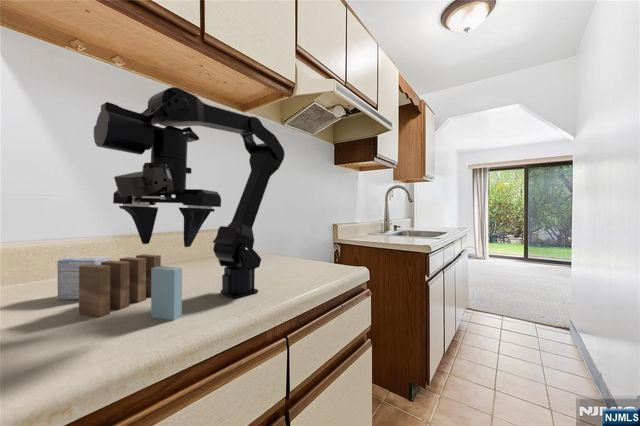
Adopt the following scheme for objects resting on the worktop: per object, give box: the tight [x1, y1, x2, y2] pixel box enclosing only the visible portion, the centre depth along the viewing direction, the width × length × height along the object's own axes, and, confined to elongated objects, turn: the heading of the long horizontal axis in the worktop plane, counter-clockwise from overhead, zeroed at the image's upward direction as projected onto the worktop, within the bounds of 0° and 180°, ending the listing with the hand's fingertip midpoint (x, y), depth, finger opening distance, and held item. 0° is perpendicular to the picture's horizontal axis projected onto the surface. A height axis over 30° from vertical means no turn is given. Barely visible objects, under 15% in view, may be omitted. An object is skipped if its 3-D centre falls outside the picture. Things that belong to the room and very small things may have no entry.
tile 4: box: [101, 259, 130, 311], centre depth 52 cm, size 2×5×9 cm, turn 77°
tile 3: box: [118, 256, 147, 304], centre depth 56 cm, size 2×5×9 cm, turn 77°
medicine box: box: [56, 255, 111, 300], centre depth 57 cm, size 8×4×9 cm, turn 92°
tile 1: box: [150, 265, 183, 321], centre depth 48 cm, size 2×5×9 cm, turn 77°
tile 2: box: [135, 253, 162, 298], centre depth 59 cm, size 2×5×9 cm, turn 77°
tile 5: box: [78, 264, 111, 318], centre depth 48 cm, size 2×5×9 cm, turn 77°
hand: (166, 245), depth 47 cm, fingers open, 9 cm apart
